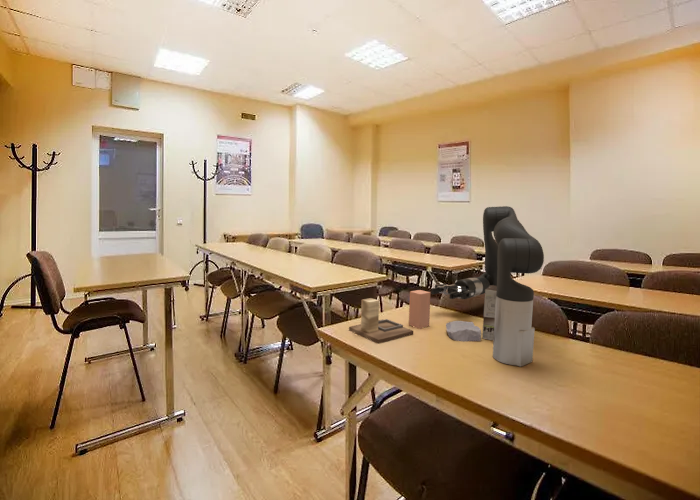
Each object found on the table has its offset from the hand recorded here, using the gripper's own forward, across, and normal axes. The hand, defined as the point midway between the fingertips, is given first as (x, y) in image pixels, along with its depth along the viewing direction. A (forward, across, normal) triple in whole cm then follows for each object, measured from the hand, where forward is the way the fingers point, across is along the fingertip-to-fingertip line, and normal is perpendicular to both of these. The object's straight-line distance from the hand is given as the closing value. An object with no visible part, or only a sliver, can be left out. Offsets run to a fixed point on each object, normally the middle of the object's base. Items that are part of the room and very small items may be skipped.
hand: (441, 293), depth 138 cm
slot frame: (+24, -3, +8) cm, 26 cm away
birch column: (+31, -3, +8) cm, 33 cm away
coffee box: (0, +22, +10) cm, 24 cm away
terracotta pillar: (+12, 0, +10) cm, 15 cm away
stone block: (+8, +15, +10) cm, 20 cm away
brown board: (+28, -2, +10) cm, 29 cm away
